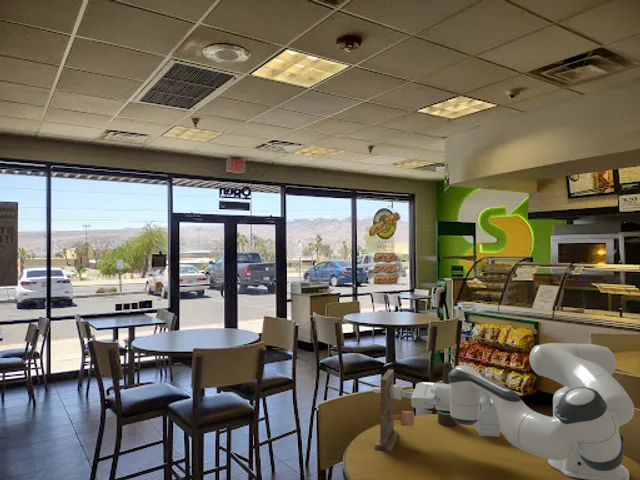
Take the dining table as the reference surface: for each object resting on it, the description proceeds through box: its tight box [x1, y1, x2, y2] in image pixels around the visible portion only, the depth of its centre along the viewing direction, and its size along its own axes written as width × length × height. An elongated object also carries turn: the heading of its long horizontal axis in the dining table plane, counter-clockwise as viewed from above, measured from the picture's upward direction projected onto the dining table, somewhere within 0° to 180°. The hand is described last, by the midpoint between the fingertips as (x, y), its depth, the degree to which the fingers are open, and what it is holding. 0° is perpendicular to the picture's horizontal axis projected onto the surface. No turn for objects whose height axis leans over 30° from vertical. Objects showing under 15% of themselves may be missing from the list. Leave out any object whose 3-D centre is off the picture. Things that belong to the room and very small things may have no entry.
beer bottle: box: [437, 361, 457, 427], centre depth 192 cm, size 8×8×24 cm
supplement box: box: [474, 398, 500, 437], centre depth 182 cm, size 7×7×13 cm
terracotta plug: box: [389, 410, 415, 427], centre depth 172 cm, size 10×5×5 cm, turn 72°
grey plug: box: [372, 384, 403, 401], centre depth 173 cm, size 10×5×5 cm, turn 72°
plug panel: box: [374, 368, 400, 452], centre depth 173 cm, size 6×16×24 cm, turn 162°
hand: (401, 393), depth 171 cm, fingers closed, pressing on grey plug
